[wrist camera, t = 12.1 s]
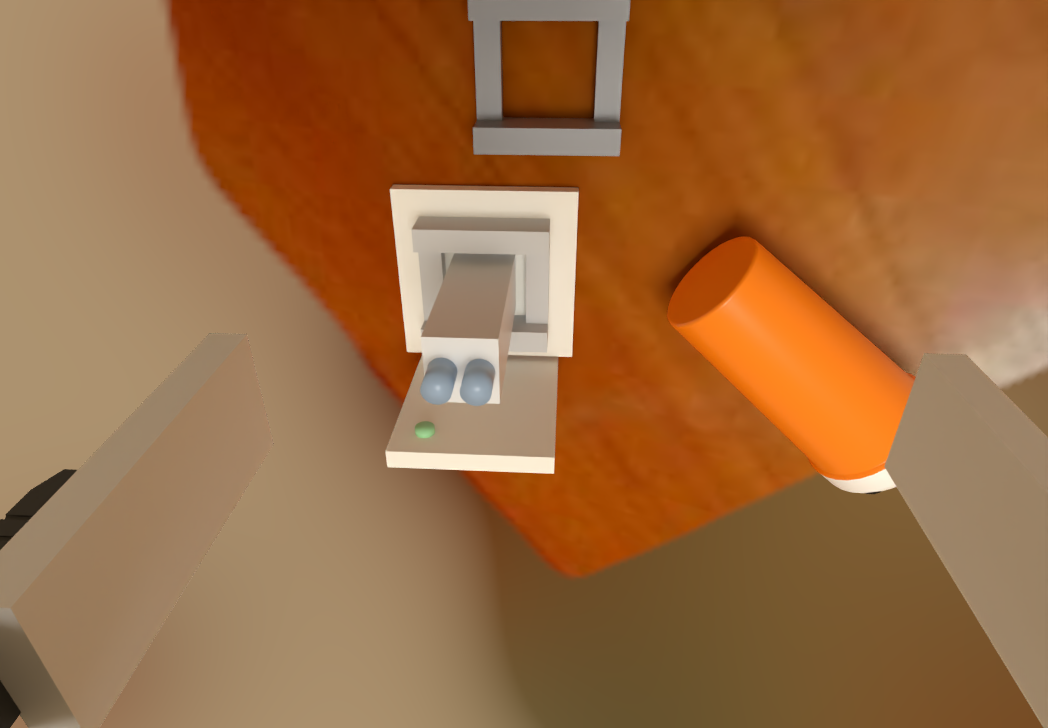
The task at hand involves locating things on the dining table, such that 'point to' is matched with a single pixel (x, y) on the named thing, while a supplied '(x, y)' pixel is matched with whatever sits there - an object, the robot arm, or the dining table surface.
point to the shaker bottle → (795, 361)
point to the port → (537, 334)
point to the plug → (470, 331)
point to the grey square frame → (548, 135)
